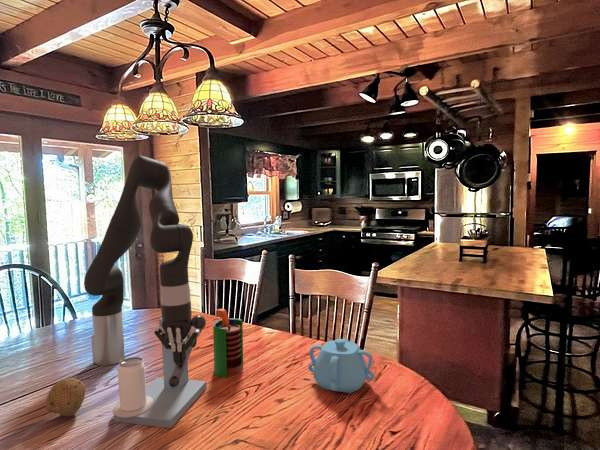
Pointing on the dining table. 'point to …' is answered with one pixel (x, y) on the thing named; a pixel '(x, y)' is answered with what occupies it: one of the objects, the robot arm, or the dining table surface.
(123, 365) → the can
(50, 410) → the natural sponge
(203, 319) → the lever
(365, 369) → the decorative pot
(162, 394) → the press
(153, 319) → the dining table surface
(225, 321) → the motor
